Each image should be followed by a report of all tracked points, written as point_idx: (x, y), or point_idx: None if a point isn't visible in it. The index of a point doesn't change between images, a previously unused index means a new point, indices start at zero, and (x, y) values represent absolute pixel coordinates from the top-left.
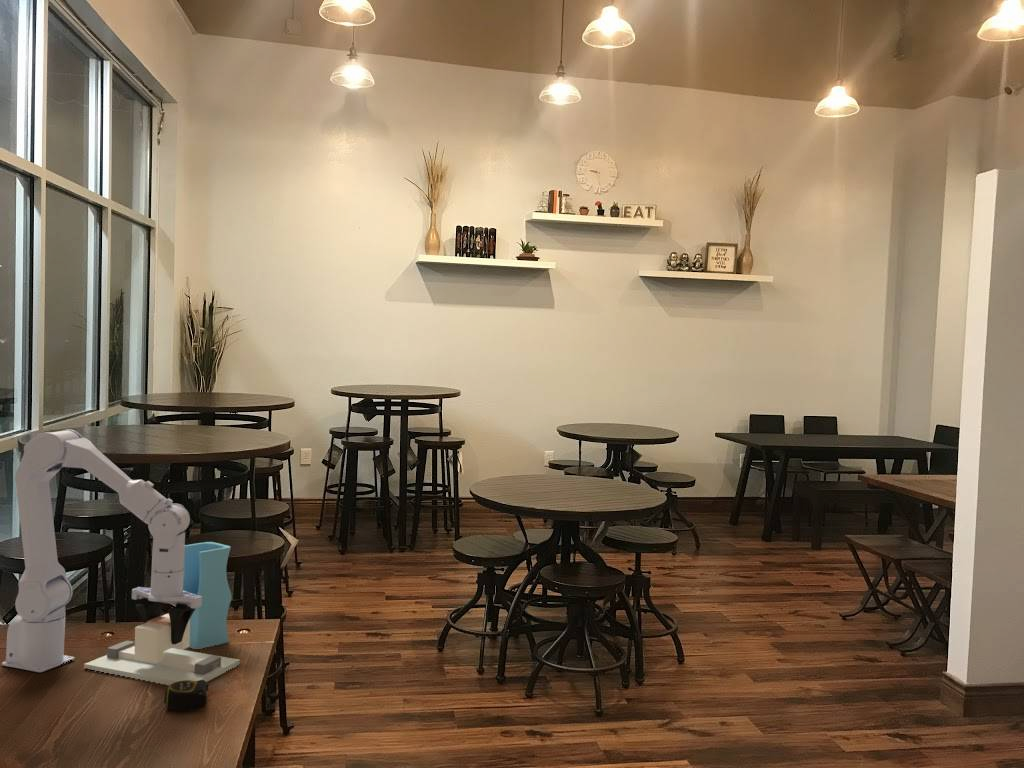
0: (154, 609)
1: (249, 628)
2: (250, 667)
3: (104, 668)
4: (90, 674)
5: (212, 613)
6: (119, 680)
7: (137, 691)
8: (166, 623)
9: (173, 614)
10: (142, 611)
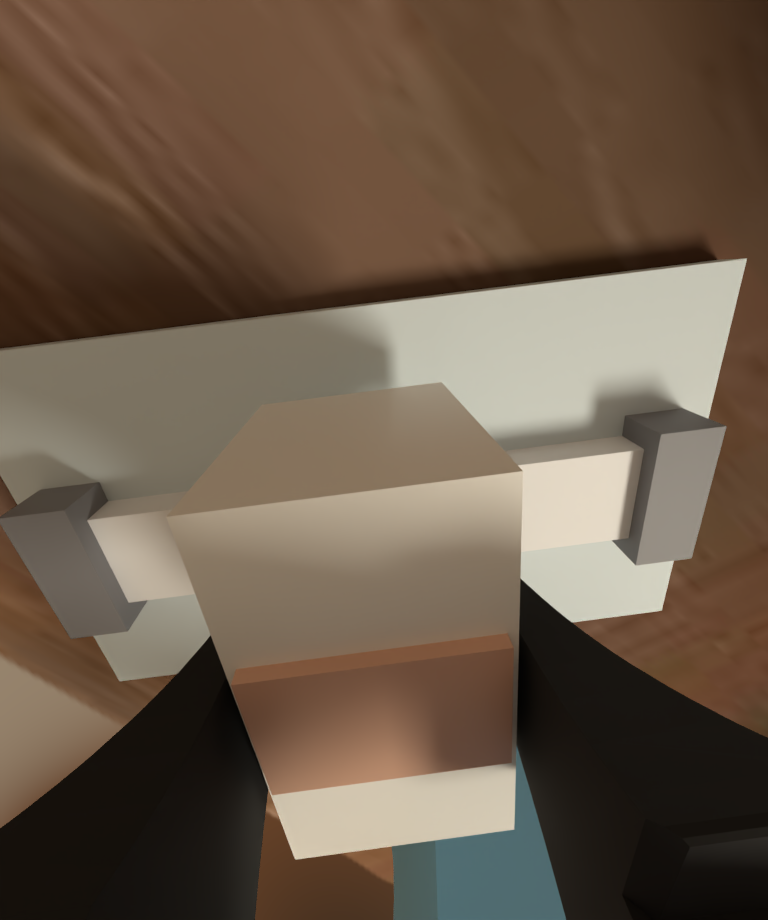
0: (572, 833)
1: None
2: (73, 664)
3: (586, 277)
4: (633, 218)
5: (412, 897)
6: (413, 239)
7: (167, 152)
8: (258, 688)
9: (29, 858)
10: (654, 740)
